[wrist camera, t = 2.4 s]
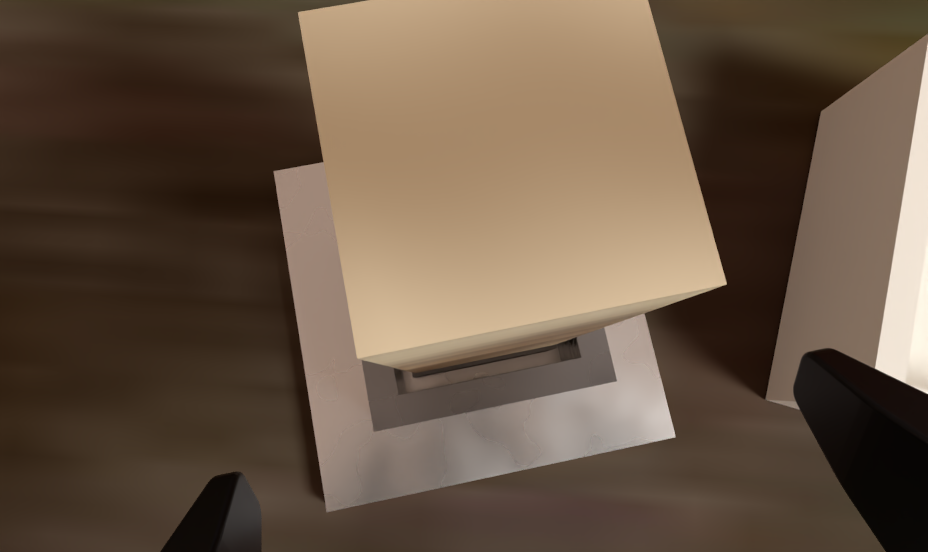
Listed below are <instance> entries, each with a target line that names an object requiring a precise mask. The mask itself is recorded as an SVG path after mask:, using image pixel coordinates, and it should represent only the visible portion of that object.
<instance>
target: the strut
mask: <svg viewBox="0 0 928 552" xmlns="http://www.w3.org/2000/svg"><path fill="white" fill-rule="evenodd" d="M298 15H299V21H300V27H301V33H302V39H303V44H304V50H305V56H306V62H307V68H308V74H309V80H310V85H311V91H312V97H313V103H314V109H315V115H316V121H317V126H318V132H319V138H320V144H321V150H322V156H323V162H324V167H325V173H326V179H327V185H328V191H329V197H330V202H331V208H332V214H333V220H334V226H335V232H336V238H337V243H338V249H339V255H340V261H341V267H342V273H343V279H344V284H345V290H346V296H347V302H348V308H349V314H350V320H351V325H352V331H353V337H354V343H355V349H356V355H357V359H360V360H364V361H369V362H373V363H377V364H381V365H385V366H389V367H393V368H397V369H401V370H405V371H409V372H412V376H413V378H418V377H423V376H428V375H433V374H438V373H443V372H448V371H453V370H458V369H463V368H467V367H472V366H477V365H482V364H487V363H492V362H497V361H502V360H507V359H512V358H517V357H521V356H526V355H531V354H536V353H541V352H546V351H549V350H552V349H556V348H557V345H556V344H558V343H561V342H564V341H567V340H570V339H572V338H575V337H578V336H581V335H584V334H587V333H590V332H592V331H595V330H598V329H601V328H604V327H607V326H610V325H612V324H615V323H618V322H621V321H624V320H627V319H630V318H632V317H635V316H638V315H641V314H644V313H647V312H650V311H652V310H655V309H658V308H661V307H664V306H667V305H670V304H672V303H675V302H678V301H681V300H684V299H687V298H690V297H692V296H695V295H698V294H701V293H704V292H707V291H710V290H712V289H715V288H718V287H721V286H724V285H727V283H726V279H725V276H724V272H723V268H722V265H721V261H720V258H719V254H718V250H717V247H716V243H715V240H714V236H713V232H712V229H711V225H710V222H709V218H708V215H707V211H706V207H705V204H704V200H703V197H702V193H701V189H700V186H699V182H698V179H697V175H696V171H695V168H694V164H693V161H692V157H691V153H690V150H689V146H688V143H687V139H686V135H685V132H684V128H683V125H682V121H681V118H680V114H679V110H678V107H677V103H676V100H675V96H674V92H673V89H672V85H671V82H670V78H669V74H668V71H667V67H666V64H665V60H664V56H663V53H662V49H661V46H660V42H659V38H658V35H657V31H656V28H655V24H654V21H653V17H652V13H651V10H650V6H649V3H648V0H369V1H363V2H357V3H351V4H345V5H339V6H333V7H327V8H321V9H315V10H309V11H303V12H298Z"/></svg>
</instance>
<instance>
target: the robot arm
mask: <svg viewBox="0 0 928 552" xmlns="http://www.w3.org/2000/svg"><path fill="white" fill-rule="evenodd" d="M793 394H794V398H795V401H796V403H797V405H798V407H799V409H800V410H801V412H802V414H803V416H804V418H805V420H806V422H807V423H808V425H809V427H810V429H811V431H812V433H813V435H814V436H815V438H816V440H817V442H818V444H819V446H820V448H821V449H822V451H823V453H824V455H825V457H826V459H827V461H828V462H829V464H830V466H831V468H832V470H833V472H834V473H835V475H836V477H837V479H838V480H839V482H840V484H841V485H842V487H843V489H844V490H845V492H846V493H847V495H848V496H849V498H850V499H851V501H852V502H853V504H854V505H855V507H856V508H857V510H858V511H859V513H860V514H861V516H862V517H863V519H864V520H865V522H866V523H867V525H868V526H869V527H870V529H871V530H872V532H873V533H874V535H875V536H876V538H877V539H878V541H879V542H880V544H881V545H882V547H883V548H884V550H885V551H886V552H928V394H927V393H925V392H923V391H921V390H919V389H916V388H914V387H912V386H910V385H908V384H906V383H904V382H902V381H900V380H898V379H896V378H894V377H892V376H889V375H887V374H885V373H883V372H881V371H879V370H877V369H875V368H873V367H871V366H869V365H867V364H865V363H863V362H860V361H858V360H856V359H854V358H852V357H850V356H848V355H846V354H844V353H842V352H840V351H838V350H835V349H832V348H823V349H819V350H814V351H809V352H806V353H805V354H804V355H803V356H802V358H801V361H800V364H799V368H798V371H797V375H796V378H795V382H794V385H793ZM161 552H261V509H260V505H259V502H258V500H257V498H256V496H255V494H254V492H253V491H252V489H251V487H250V485H249V483H248V481H247V480H246V478H245V476H244V475H243V474H242V473H241V472H231V473H226V474H222V475H217V476H215V477H213V478H212V479H211V480H210V481H209V482H208V484H207V485H206V487H205V488H204V489H203V491H202V492H201V494H200V495H199V497H198V498H197V500H196V501H195V502H194V504H193V505H192V507H191V508H190V510H189V511H188V513H187V514H186V515H185V517H184V518H183V520H182V521H181V523H180V524H179V526H178V527H177V528H176V530H175V531H174V533H173V534H172V536H171V537H170V539H169V540H168V541H167V543H166V544H165V546H164V547H163V549H162V550H161Z"/></svg>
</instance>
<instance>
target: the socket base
mask: <svg viewBox="0 0 928 552" xmlns="http://www.w3.org/2000/svg"><path fill="white" fill-rule="evenodd" d="M274 177H275V183H276V190H277V196H278V203H279V209H280V215H281V222H282V228H283V235H284V241H285V247H286V254H287V260H288V267H289V273H290V280H291V286H292V292H293V299H294V305H295V312H296V318H297V324H298V331H299V337H300V344H301V350H302V356H303V363H304V369H305V376H306V382H307V389H308V395H309V401H310V408H311V414H312V421H313V427H314V433H315V440H316V446H317V453H318V459H319V466H320V472H321V478H322V485H323V491H324V498H325V504H326V510H327V512H330V511H334V510H339V509H344V508H348V507H353V506H358V505H362V504H367V503H372V502H376V501H381V500H386V499H390V498H395V497H399V496H404V495H409V494H413V493H418V492H423V491H427V490H432V489H437V488H441V487H446V486H451V485H455V484H460V483H465V482H469V481H474V480H479V479H483V478H488V477H492V476H497V475H502V474H506V473H511V472H516V471H520V470H525V469H530V468H534V467H539V466H544V465H548V464H553V463H558V462H562V461H567V460H572V459H576V458H581V457H585V456H590V455H595V454H599V453H604V452H609V451H613V450H618V449H623V448H627V447H632V446H637V445H641V444H646V443H651V442H655V441H660V440H665V439H669V438H674V437H675V433H674V429H673V425H672V421H671V417H670V413H669V409H668V405H667V401H666V397H665V393H664V389H663V385H662V381H661V377H660V373H659V369H658V365H657V361H656V357H655V354H654V350H653V346H652V342H651V338H650V334H649V330H648V326H647V322H646V318H645V314H641V315H638V316H635V317H632V318H630V319H627V320H624V321H621V322H618V323H615V324H612V325H610V326H607V327H604V328H601V329H598V330H595V331H592V332H590V333H587V334H584V335H581V336H578V337H575V338H572V339H570V340H567V341H564V342H561V343H558V344H556V345H557V348H556V349H552V350H549V351H546V352H541V353H536V354H531V355H526V356H521V357H517V358H512V359H507V360H502V361H497V362H492V363H487V364H482V365H477V366H472V367H467V368H463V369H458V370H453V371H448V372H443V373H438V374H433V375H428V376H423V377H418V378H413V376H412V372H409V371H405V370H401V369H397V368H393V367H389V366H385V365H381V364H377V363H373V362H369V361H364V360H360V359H357V355H356V349H355V343H354V337H353V331H352V325H351V320H350V314H349V308H348V302H347V296H346V290H345V284H344V279H343V273H342V267H341V261H340V255H339V249H338V243H337V238H336V232H335V226H334V220H333V214H332V208H331V202H330V197H329V191H328V185H327V179H326V173H325V167H324V162H322V163H316V164H311V165H305V166H300V167H294V168H289V169H283V170H278V171H274Z"/></svg>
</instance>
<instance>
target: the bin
mask: <svg viewBox="0 0 928 552" xmlns="http://www.w3.org/2000/svg"><path fill="white" fill-rule="evenodd" d="M823 348H832V349H835V350H838V351H840V352H842V353H844V354H846V355H848V356H850V357H852V358H854V359H856V360H858V361H860V362H863V363H865V364H867V365H869V366H871V367H873V368H875V369H877V370H879V371H881V372H883V373H885V374H887V375H889V376H892V377H894V378H896V379H898V380H900V381H902V382H904V383H906V384H908V385H910V386H912V387H914V388H916V389H919V390H921V391H923V392H925V393H927V394H928V34H927V35H926V36H924V37H923V38H922V39H920V40H919V41H917V42H916V43H915V44H913V45H912V46H911V47H909V48H908V49H906V50H905V51H904V52H902V53H901V54H900V55H898V56H897V57H895V58H894V59H893V60H891V61H890V62H889V63H887V64H886V65H884V66H883V67H882V68H880V69H879V70H877V71H876V72H875V73H873V74H872V75H871V76H869V77H868V78H866V79H865V80H864V81H862V82H861V83H860V84H858V85H857V86H855V87H854V88H853V89H851V90H850V91H849V92H847V93H846V94H844V95H843V96H842V97H840V98H839V99H838V100H836V101H835V102H833V103H832V104H831V105H829V106H828V107H827V108H825V109H824V110H822V111H821V114H820V119H819V124H818V130H817V135H816V140H815V145H814V150H813V155H812V161H811V166H810V171H809V176H808V181H807V187H806V192H805V197H804V202H803V207H802V213H801V218H800V223H799V228H798V233H797V238H796V244H795V249H794V254H793V259H792V264H791V270H790V275H789V280H788V285H787V290H786V296H785V301H784V306H783V311H782V316H781V322H780V327H779V332H778V337H777V342H776V347H775V353H774V358H773V363H772V368H771V373H770V379H769V384H768V389H767V394H766V399H765V400H768V401H772V402H775V403H778V404H782V405H785V406H789V407H792V408H796V409H799V407H798V405H797V403H796V401H795V398H794V394H793V385H794V382H795V378H796V375H797V371H798V368H799V364H800V361H801V358H802V356H803V355H804V354H805V353H806V352H809V351H814V350H819V349H823ZM799 410H800V409H799Z"/></svg>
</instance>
